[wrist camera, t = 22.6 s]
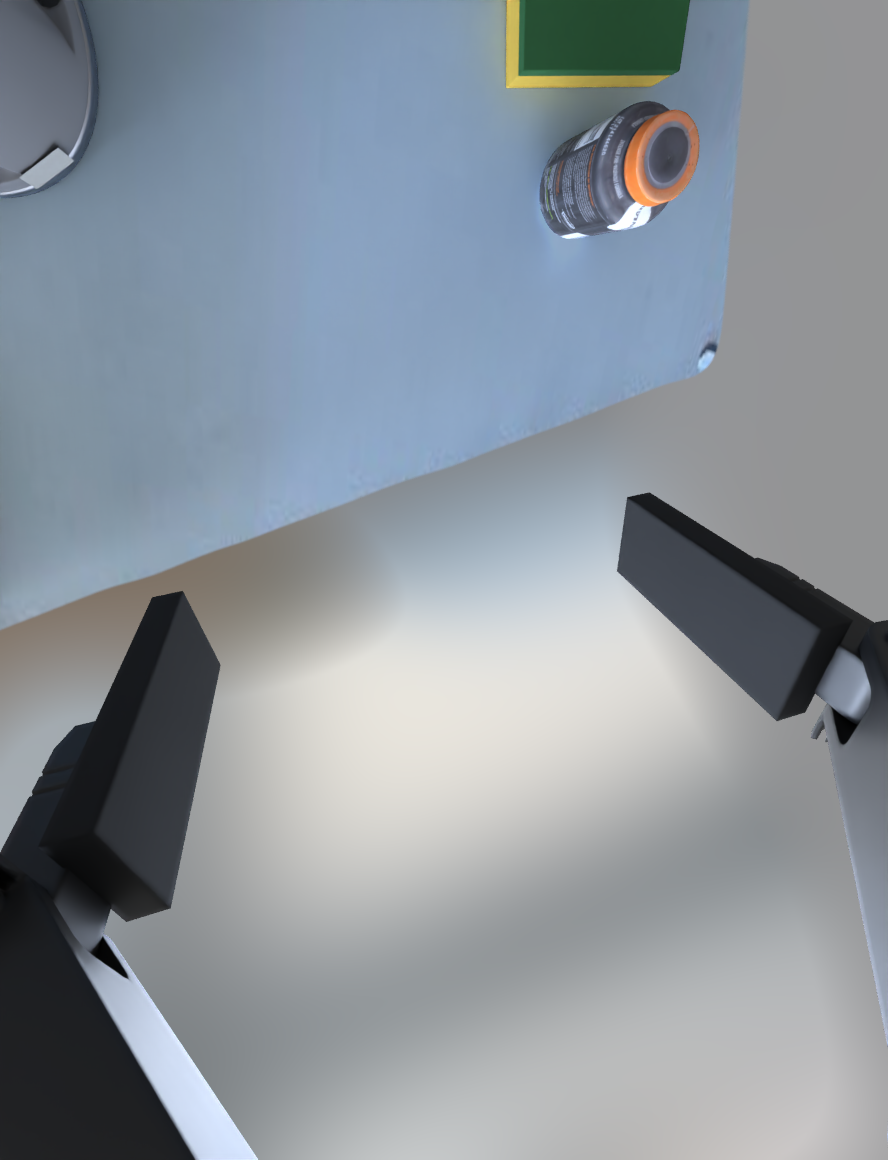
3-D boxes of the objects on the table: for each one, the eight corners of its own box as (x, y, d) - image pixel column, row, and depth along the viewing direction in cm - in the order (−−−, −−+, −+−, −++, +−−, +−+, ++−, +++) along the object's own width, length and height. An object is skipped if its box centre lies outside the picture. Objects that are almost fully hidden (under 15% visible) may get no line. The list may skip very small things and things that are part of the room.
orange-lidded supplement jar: (589, 250, 38) (682, 240, 29) (526, 223, 36) (603, 201, 26) (622, 158, 35) (737, 113, 26) (556, 122, 33) (654, 59, 24)
